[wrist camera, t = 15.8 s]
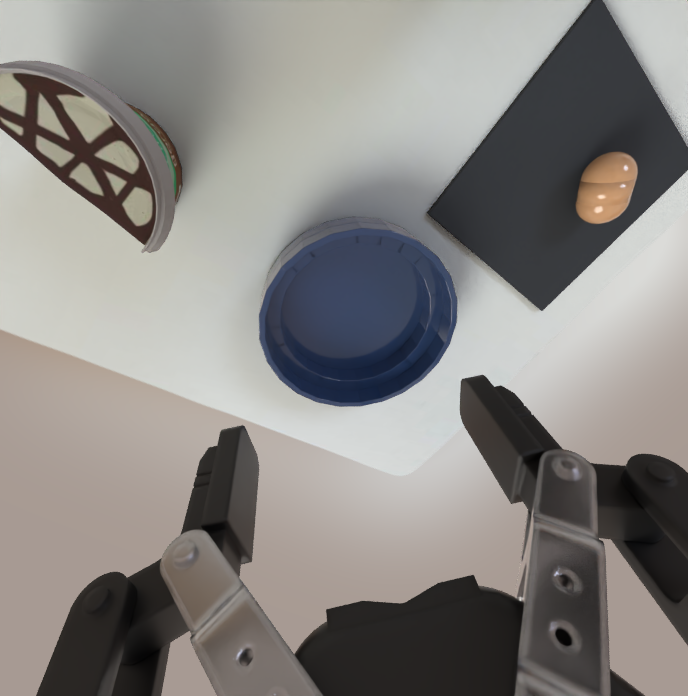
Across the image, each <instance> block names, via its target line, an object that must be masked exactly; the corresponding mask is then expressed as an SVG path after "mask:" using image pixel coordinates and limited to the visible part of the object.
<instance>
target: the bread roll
mask: <svg viewBox="0 0 688 696" xmlns="http://www.w3.org/2000/svg"><path fill="white" fill-rule="evenodd" d="M637 175H638V166H637V163H636V161H635V160H634V158H633V157H632V156H631V155H629V154H627V153H625V152H619V151H614V152H608V153H605V154H602V155H600V156H598V157H597V158H595V159H594V160H593V161H591V162H590V163H589V164H588V165H587V167H586V168H585V169H584V171H583V173H582V176H581V179H580V183H579V188H578V193H577V198H576V205H575V207H576V212H577V214H578V215H579V217H580V218H581V219H582V220H584V221H585V222H588V223H591V224H603V223H607V222H610V221H612V220H614V219H616V218H617V217H618V216H620V215H621V214H622V213H623V212H624V211H625V210H626V208H627V206H628V205H629V202H630V200H631V196H632V193H633V190H634V186H635V183H636V179H637Z"/></svg>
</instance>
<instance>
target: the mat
mask: <svg viewBox="0 0 688 696" xmlns="http://www.w3.org/2000/svg"><path fill="white" fill-rule="evenodd" d="M614 151H619V152H625V153H627V154H629V155H631V156H632V157H633V158H634V160H635V161H636V163H637V166H638V175H637V179H636V183H635V186H634V190H633V193H632V196H631V200H630V202H629V205H628V206H627V208H626V210H625V211H624V212H623V213H622V214H621V215H620V216H618V217H617V218H616V219H614V220H612V221H610V222H607V223H603V224H591V223H588V222H585V221H584V220H582V219H581V218H580V217H579V215H578V214H577V212H576V207H575V205H576V198H577V193H578V188H579V183H580V179H581V176H582V173H583V171H584V169H585V168H586V167H587V165H588V164H589V163H590V162H591V161H593V160H594V159H595V158H597V157H598V156H600V155H602V154H605V153H608V152H614ZM687 170H688V147H687V145H686V144H685V142H684V140H683V138H682V137H681V135H680V133H679V132H678V130H677V128H676V126H675V125H674V123H673V121H672V120H671V118H670V116H669V114H668V113H667V111H666V109H665V107H664V106H663V104H662V102H661V101H660V99H659V97H658V95H657V94H656V92H655V90H654V88H653V87H652V85H651V83H650V82H649V80H648V78H647V76H646V75H645V73H644V71H643V70H642V68H641V66H640V64H639V63H638V61H637V59H636V57H635V56H634V54H633V52H632V51H631V49H630V47H629V45H628V44H627V42H626V40H625V38H624V37H623V35H622V33H621V32H620V30H619V28H618V26H617V25H616V23H615V21H614V20H613V18H612V16H611V14H610V13H609V11H608V9H607V7H606V6H605V4H604V2H603V1H602V0H592V1H591V3H590V4H589V5H588V6H587V8H586V9H585V10H584V12H583V13H582V14H581V15H580V17H579V18H578V19H577V21H576V22H575V23H574V24H573V26H572V27H571V28H570V30H569V31H568V32H567V34H566V35H565V36H564V37H563V39H562V40H561V41H560V43H559V44H558V45H557V46H556V48H555V49H554V50H553V52H552V53H551V54H550V55H549V57H548V58H547V59H546V61H545V62H544V63H543V64H542V66H541V67H540V68H539V70H538V71H537V72H536V73H535V75H534V76H533V77H532V79H531V80H530V81H529V82H528V84H527V85H526V86H525V88H524V89H523V90H522V92H521V93H520V94H519V95H518V97H517V98H516V99H515V101H514V102H513V103H512V104H511V106H510V107H509V108H508V110H507V111H506V112H505V113H504V115H503V116H502V117H501V119H500V120H499V121H498V122H497V124H496V125H495V126H494V128H493V129H492V130H491V131H490V133H489V134H488V135H487V137H486V138H485V139H484V140H483V142H482V143H481V144H480V146H479V147H478V148H477V149H476V151H475V152H474V153H473V155H472V156H471V157H470V159H469V160H468V161H467V162H466V164H465V165H464V166H463V168H462V169H461V170H460V171H459V173H458V174H457V175H456V177H455V178H454V179H453V180H452V182H451V183H450V184H449V186H448V187H447V188H446V189H445V191H444V192H443V193H442V195H441V196H440V197H439V198H438V200H437V201H436V202H435V204H434V205H433V206H432V207H431V209H430V210H429V211H428V214H429V215H430V216H431V217H432V218H434V219H435V220H436V221H437V222H438V223H439V224H441V225H442V226H443V227H444V228H445V229H446V230H448V231H449V232H450V233H451V234H452V235H453V236H455V237H456V238H457V239H458V240H459V241H460V242H462V243H463V244H464V245H465V246H466V247H467V248H469V249H470V250H471V251H472V252H473V253H474V254H476V255H477V256H478V257H479V258H480V259H481V260H483V261H484V262H485V263H486V264H487V265H488V266H490V267H491V268H492V269H493V270H494V271H495V272H497V273H498V274H499V275H500V276H501V277H502V278H504V279H505V280H506V281H507V282H508V283H510V284H511V285H512V286H513V287H514V288H515V289H517V290H518V291H519V292H520V293H521V294H522V295H524V296H525V297H526V298H527V299H528V300H529V301H531V302H532V303H533V304H534V305H535V306H536V307H538V308H539V309H540V310H541V311H543V310H544V309H545V308H546V307H547V306H548V305H549V304H550V303H551V302H552V301H553V300H554V299H555V298H556V297H557V296H558V295H559V294H560V293H561V292H562V291H563V290H564V289H565V288H566V287H567V286H568V285H570V284H571V283H572V282H573V281H574V280H575V279H576V278H577V277H578V276H579V275H580V274H581V273H582V272H583V271H584V270H585V269H586V268H587V267H588V266H589V265H590V264H591V263H592V262H593V261H594V260H595V259H596V258H597V257H598V256H599V255H600V254H602V253H603V252H604V251H605V250H606V249H607V248H608V247H609V246H610V245H611V244H612V243H613V242H614V241H615V240H616V239H617V238H618V237H619V236H620V235H621V234H622V233H623V232H624V231H625V230H626V229H627V228H628V227H629V226H630V225H631V224H633V223H634V222H635V221H636V220H637V219H638V218H639V217H640V216H641V215H642V214H643V213H644V212H645V211H646V210H647V209H648V208H649V207H650V206H651V205H652V204H653V203H654V202H655V201H656V200H657V199H658V198H659V197H660V196H661V195H662V194H664V193H665V192H666V191H667V190H668V189H669V188H670V187H671V186H672V185H673V184H674V183H675V182H676V181H677V180H678V179H679V178H680V177H681V176H682V175H683V174H684V173H685V172H686V171H687Z"/></svg>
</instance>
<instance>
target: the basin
mask: <svg viewBox="0 0 688 696" xmlns="http://www.w3.org/2000/svg"><path fill="white" fill-rule="evenodd" d="M456 322H457V297H456V293H455V290H454V286H453V282H452V279H451V276H450V275H449V273H448V271H447V270H446V268H445V267H444V265H443V264H442V262H441V261H440V259H439V258H438V257H437V256H436V255H435V254H434V253H433V252H432V251H431V250H429V249H428V248H427V247H426V246H425V245H423V244H422V243H421V242H420V241H419V240H417V239H416V238H415V237H414V236H412V235H411V234H410V233H409V232H407V231H406V230H405V229H404V228H402V227H399V226H397V225H394V224H391V223H389V222H386V221H384V220H381V219H376V218H364V217H348V218H343V219H338V220H333V221H327V222H325V223H323V224H321V225H319V226H317V227H315V228H313V229H311V230H309V231H307V232H305V233H303V234H301V235H300V236H299V237H298V238H297V239H295V240H294V241H293V242H292V243H291V244H290V245H289V246H288V247H287V248H285V249H284V250H283V251H282V252H281V254H280V255H279V257H278V258H277V260H276V262H275V263H274V265H273V266H272V268H271V270H270V271H269V274H268V276H267V279H266V283H265V286H264V290H263V293H262V298H261V305H260V312H259V339H260V343H261V346H262V349H263V352H264V355H265V358H266V361H267V362H268V364H269V365H270V367H271V368H272V369H273V371H274V372H275V374H276V375H277V376H278V378H279V379H280V380H281V381H282V382H283V383H285V384H286V385H287V386H288V387H290V388H291V389H292V390H293V391H295V392H296V393H298V394H300V395H302V396H304V397H306V398H309V399H311V400H313V401H315V402H319V403H324V404H329V405H333V406H339V407H342V406H364V405H369V404H373V403H378V402H382V401H385V400H387V399H390V398H392V397H395V396H397V395H399V394H402V393H403V392H405V391H407V390H408V389H409V388H411V387H412V386H414V385H415V384H417V383H418V382H420V381H421V380H422V379H423V378H424V377H425V376H426V375H427V374H428V373H429V372H430V371H431V370H432V369H433V368H434V367H435V366H436V365H437V364H438V363H439V361H440V359H441V358H442V356H443V354H444V353H445V351H446V349H447V348H448V346H449V344H450V342H451V338H452V335H453V332H454V329H455V326H456Z"/></svg>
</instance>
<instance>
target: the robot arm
mask: <svg viewBox="0 0 688 696" xmlns="http://www.w3.org/2000/svg"><path fill="white" fill-rule="evenodd" d="M460 415H461V419H462V422H463V424H464V426H465V428H466V430H467V431H468V433H469V435H470V436H471V438H472V439H473V441H474V443H475V445H476V446H477V448H478V450H479V451H480V453H481V455H482V456H483V458H484V459H485V461H486V463H487V465H488V466H489V468H490V469H491V471H492V473H493V474H494V476H495V478H496V479H497V481H498V483H499V484H500V486H501V488H502V489H503V491H504V493H505V494H506V496H507V498H508V499H509V501H510V503H511V504H512V503H517V502H522V501H523V502H524V504H525V505H526V507H527V509H528V512H527V518H526V525H525V533H524V540H523V547H522V555H521V562H520V569H519V574H518V580H517V586H516V591H515V597H513V596H511V595H509V594H507V593H505V592H502V591H499V590H496V589H493V588H489V587H484V586H478V584H477V582H476V579H475V577H474V575H471V576H467V577H463V578H459V579H454V580H450V581H446V582H441V583H438V584H436V585H434V586H432V587H431V588H429V589H427V590H426V591H424V592H422V593H421V594H419V595H418V596H416V597H414V598H412V599H411V600H409V601H407V602H405V603H401V604H399V603H385V602H384V603H383V602H371V601H360V602H356V603H352V604H348V605H343V606H339V607H335V608H331V609H327V610H326V613H327V622H325V623H324V624H322V625H321V626H319V627H318V628H317V629H316V630H314V631H313V632H312V633H311V634H310V635H309V636H308V637H307V638H306V639H305V640H304V642H303V643H302V644H301V645H300V647H299V648H298V650H297V651H296V653H295V654H293V652H292V651H291V649H290V648H289V647H288V645H287V644H286V642H285V641H284V640H283V638H282V637H281V635H280V634H279V633H278V631H277V630H276V628H275V627H274V625H273V624H272V623H271V621H270V620H269V619H268V617H267V616H266V614H265V613H264V611H263V610H262V609H261V607H260V606H259V604H258V603H257V601H256V600H255V599H254V597H253V596H252V594H251V593H250V592H249V590H248V589H247V587H246V586H245V585H244V584H243V582H242V581H241V579H240V578H239V576H240V566H241V564H245V563H249V562H252V553H253V540H254V527H255V515H256V502H257V489H258V476H259V464H258V463H259V462H258V457H257V454H256V451H255V449H254V446H253V444H252V442H251V440H250V437H249V435H248V433H247V431H246V429H245V427H244V426H237V427H232V428H228V429H223V430H221V432H220V437H219V441H218V446H214V447H210V448H208V450H207V451H206V453H205V454H204V456H203V457H202V459H201V460H200V462H199V466H198V470H197V474H196V475H197V477H196V478H195V482H194V488H193V490H192V494H191V498H190V501H189V506H188V509H187V513H186V517H185V521H184V525H183V529H182V532H181V535H180V536H179V537H177V538H176V539H175V540H174V541H172V543H171V544H170V545H169V546H168V547H167V549H166V550H165V552H164V554H163V556H162V558H161V559H160V560H158V561H157V562H155V563H154V564H152V565H150V566H148V567H146V568H144V569H143V570H141V571H139V572H137V573H135V574H134V575H132V576H130V577H128V578H127V577H126V576H125V575H124V574H122V573H120V572H110V573H107V574H104V575H102V576H100V577H98V578H97V579H95V580H94V581H92V582H91V583H90V584H89V585H88V586H87V587H86V588H85V589H84V590H83V591H82V592H81V593H80V594H79V596H78V597H77V599H76V600H75V602H74V603H73V605H72V607H71V609H70V612H69V614H68V617H67V620H66V622H65V625H64V627H63V630H62V632H61V635H60V637H59V640H58V642H57V645H56V647H55V650H54V652H53V655H52V657H51V660H50V662H49V665H48V667H47V670H46V673H45V675H44V677H43V680H42V682H41V685H40V687H39V690H38V692H37V695H36V696H161V693H162V687H163V682H164V676H165V670H166V664H167V659H168V653H169V648H170V642H172V641H173V640H175V639H177V638H178V637H180V636H182V635H183V634H185V633H186V632H188V631H190V632H191V635H192V636H191V638H190V640H191V643H192V646H193V648H194V650H195V652H196V654H197V656H198V658H199V660H200V662H201V664H202V666H203V668H204V670H205V672H206V674H207V676H208V678H209V680H210V682H211V684H212V686H213V688H214V690H215V692H216V694H217V696H645V695H643V694H642V693H641V692H639V691H638V690H637V689H636V688H634V687H633V686H632V685H630V684H629V683H628V682H626V681H625V680H624V679H623V678H621V677H620V676H619V675H617V674H616V673H615V672H613V671H612V670H611V669H610V665H609V664H610V662H609V636H608V610H607V585H606V558H605V547H604V543H603V541H601V540H599V538H605V539H611V540H612V541H613V543H614V544H615V546H616V547H617V548H618V550H619V551H620V553H621V554H622V555H623V557H624V558H625V559H626V561H627V562H628V564H629V565H630V566H631V568H632V569H633V570H634V572H635V573H636V575H637V576H638V577H639V579H640V580H641V582H642V583H643V584H644V586H645V587H646V588H647V590H648V591H649V592H650V594H651V595H652V597H653V598H654V599H655V601H656V602H657V604H658V605H659V606H660V608H661V609H662V611H663V612H664V613H665V615H666V616H667V617H668V619H669V620H670V622H671V623H672V624H673V626H674V627H675V628H676V630H677V631H678V633H679V634H680V635H681V637H682V638H683V640H684V641H685V642H686V644H687V645H688V473H687V472H686V471H685V470H684V469H683V468H682V467H680V466H679V465H677V464H676V463H674V462H672V461H670V460H668V459H666V458H663V457H660V456H657V455H652V454H638V455H635V456H633V457H631V458H630V459H629V461H628V463H627V464H626V466H619V465H603V464H593V463H590V462H588V461H587V460H586V459H585V458H584V457H582V456H581V455H579V454H577V453H575V452H572V451H569V450H564V449H562V448H561V447H560V446H559V444H558V443H557V442H556V441H555V440H554V439H553V437H552V436H551V435H550V434H549V433H548V432H547V430H546V429H545V428H544V427H543V426H542V425H541V423H540V422H539V421H538V420H537V419H536V418H535V417H534V415H532V414H531V412H530V411H529V410H528V408H527V407H526V406H524V404H523V403H522V402H521V400H520V399H519V398H518V397H517V396H516V395H515V393H513V392H511V391H509V390H508V389H506V388H504V387H503V386H497V387H494V386H493V385H492V384H491V383H490V381H489V380H488V379H487V378H486V377H485V376H484V375H479V376H475V377H470V378H465V379H462V381H461V392H460Z"/></svg>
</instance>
